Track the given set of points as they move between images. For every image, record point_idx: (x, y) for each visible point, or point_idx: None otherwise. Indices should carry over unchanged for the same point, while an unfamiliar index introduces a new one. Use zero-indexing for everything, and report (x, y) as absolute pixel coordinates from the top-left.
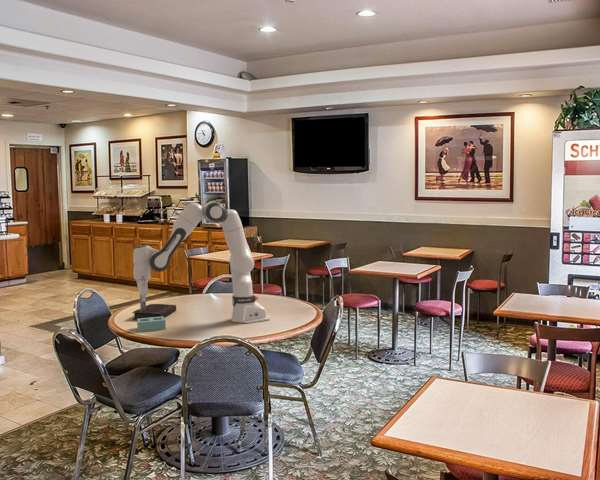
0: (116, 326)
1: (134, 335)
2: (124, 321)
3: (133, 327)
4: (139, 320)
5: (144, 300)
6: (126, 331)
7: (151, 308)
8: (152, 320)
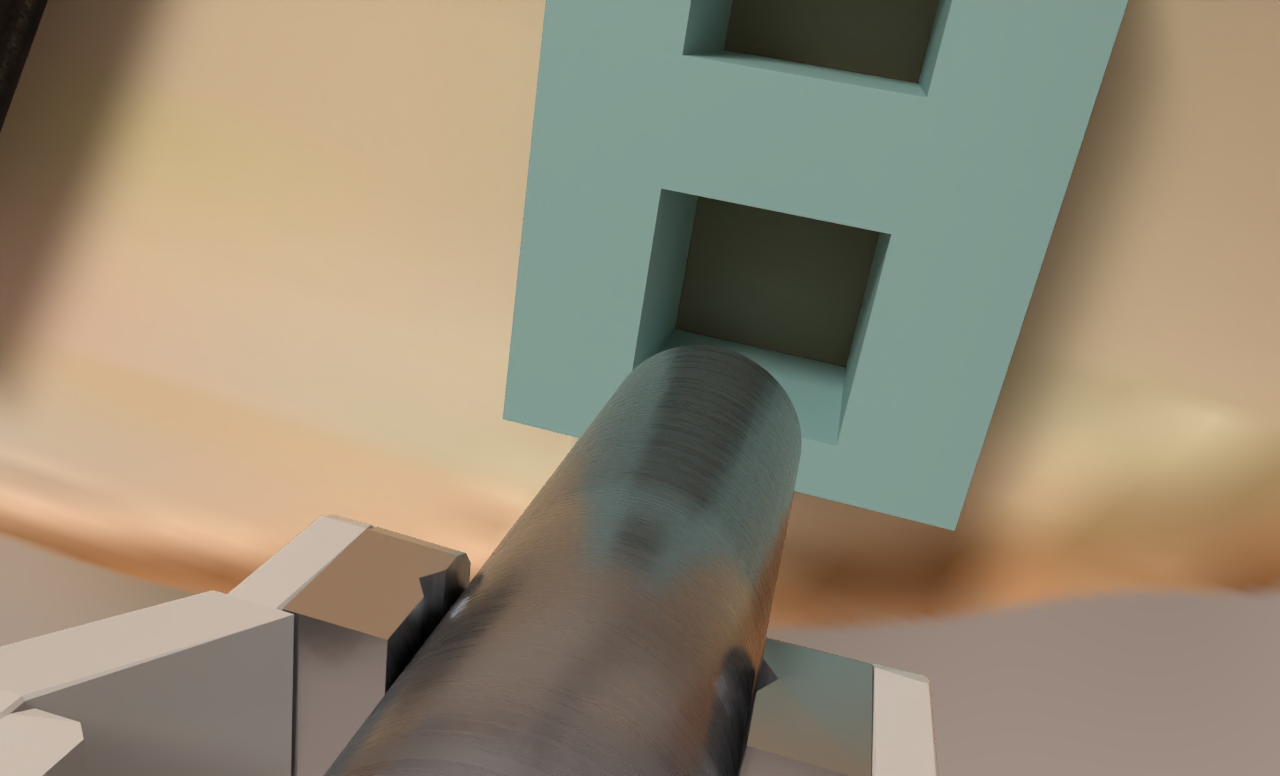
0: None
1: (1163, 588)
2: (15, 389)
3: None
4: None
5: (914, 730)
6: None
7: None
8: (946, 147)
